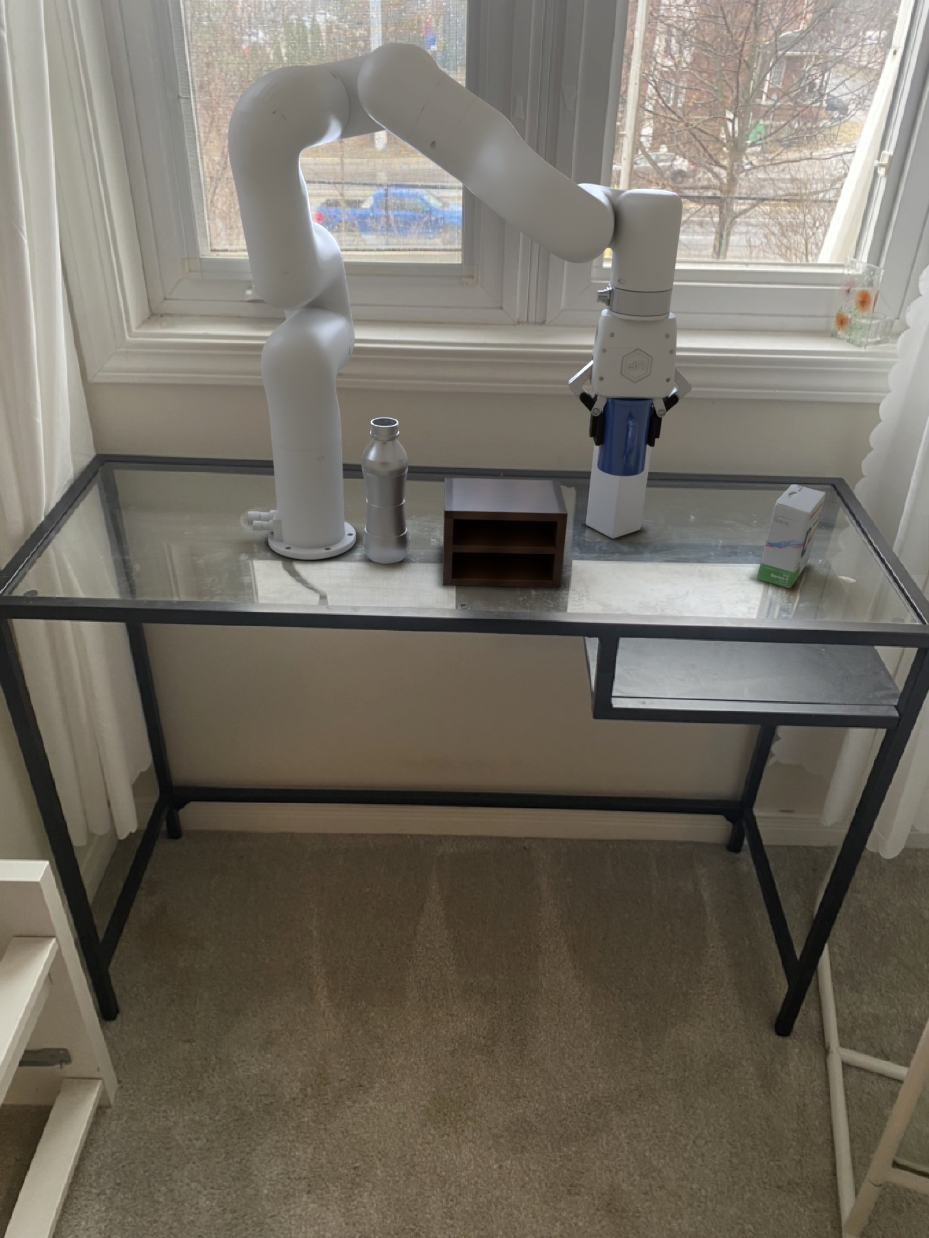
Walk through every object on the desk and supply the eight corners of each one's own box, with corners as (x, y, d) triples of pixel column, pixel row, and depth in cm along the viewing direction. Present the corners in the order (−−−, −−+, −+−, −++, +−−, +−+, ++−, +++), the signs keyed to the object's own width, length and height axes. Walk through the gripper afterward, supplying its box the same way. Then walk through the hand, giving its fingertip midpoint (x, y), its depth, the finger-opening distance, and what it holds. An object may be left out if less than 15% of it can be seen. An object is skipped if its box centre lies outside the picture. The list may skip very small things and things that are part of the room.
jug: (601, 484, 122) (609, 408, 117) (591, 455, 131) (598, 382, 126) (653, 485, 122) (663, 408, 117) (639, 455, 131) (648, 383, 126)
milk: (612, 539, 144) (629, 395, 132) (584, 524, 148) (599, 384, 136) (641, 529, 147) (660, 388, 136) (613, 515, 151) (629, 377, 140)
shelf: (442, 585, 130) (444, 510, 124) (443, 548, 139) (444, 477, 134) (560, 587, 130) (567, 513, 125) (553, 551, 140) (559, 480, 134)
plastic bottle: (374, 573, 132) (371, 433, 122) (356, 552, 137) (351, 417, 127) (417, 564, 135) (417, 427, 125) (397, 544, 140) (396, 411, 130)
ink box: (773, 557, 140) (789, 481, 134) (808, 566, 138) (827, 490, 132) (755, 580, 134) (771, 501, 128) (792, 590, 132) (810, 511, 126)
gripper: (571, 307, 113) (560, 452, 122) (717, 310, 113) (695, 454, 123) (564, 293, 119) (554, 432, 129) (703, 296, 120) (683, 434, 129)
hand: (623, 441), depth 125 cm, fingers closed on jug, 6 cm apart
